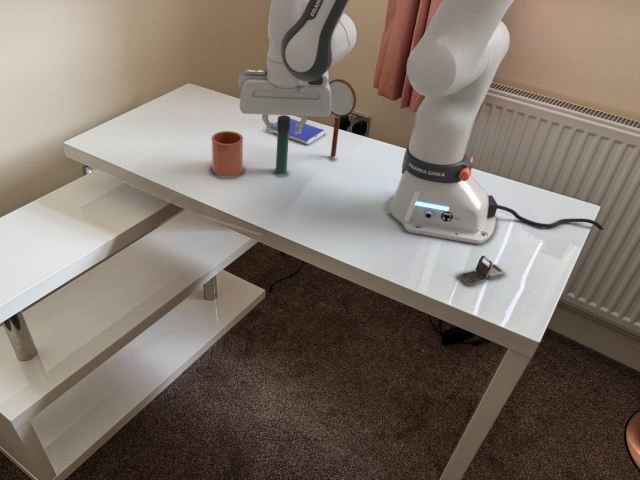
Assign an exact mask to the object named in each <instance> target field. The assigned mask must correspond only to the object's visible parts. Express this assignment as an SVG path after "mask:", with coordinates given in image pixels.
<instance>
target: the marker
mask: <svg viewBox="0 0 640 480" xmlns="http://www.w3.org/2000/svg"><path fill="white" fill-rule="evenodd" d="M290 119H291V117H290V115H278V117H277V122H278V124H277V131H278V133H277V134H276V135H277V137H276V139H277V140H276V154H275V155H276V157H275V173H276V174H278V175H285V174H287V170H288V155H289V141H290V140H289V139H290V138H289V131H290Z"/></svg>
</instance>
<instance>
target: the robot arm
mask: <svg viewBox="0 0 640 480" xmlns="http://www.w3.org/2000/svg"><path fill="white" fill-rule="evenodd" d="M350 1H351V0H271V1H270V6H269V11H268V21H267V22H268V24H267V38H268V41H269V42H268V43H269V45H268V49H267V53H266V69H245V70H244V71H242V72H241V73H240V74H239V75H238V78H237V79H238V82H237V83H238V87H239V89H240V90H241V91H240V97H239V98H240V99H239V111H240V112H241V113H242V114H244V115H261V119H262V121H263V123H264V125H265V126H266V131H265V132H266V133H267V134H269V133H272V134H274V133H273V124H274V122H270V120H269V115H270V116H283V115H284V116H294V117H295V116H297V117H300V121H299V124H295V134H301V131H302V127H303V126H304V124H307V122H308V118H309V117H319V118H320V117H322V118H323V117H324V118H327V117H329V115H330V114H332V113H331V90H330V85H329V83H330V81H329V78H330V74H329V70H330V69H332V68H333V67H335V66H337V64H339V63H340V62H341V61H343V60H344V59H346V58H347V57H348V56H349V55H351V54H352V53H353V51H354V49H355V48H356V46H357V42H358V30H357V26H356V24H355V21H354V19H353V18H352V17H351V16H350V15H349V14H348V13H346V12H345V11H346V9H347V7H348V5H349V3H350ZM514 1H515V0H440V3H439V4H438V7H437V8H436V10H435V12H434V14H433V16H432V17H431V19H430V22H429V24H428V25H427V28H426V30H425V32H424V34H423V36H422V37H421V38H420V40H419V41H418V43H417V44H416V45H415V46H414V47H413V49H412V50H411V52H410V54H409V56H408V58H407V60H406V61H407V62H406V69H405V70H406V76H407V80H408V82H409V85H411V87H412V89H413V90H414V91H415V92H417V93H418V94H420V95H421V96H424V98H423V100H422V101H421V103H420V105H419V106H418V108H417V109H416V112H415V117H414V121H413V125H412V129H411V135H410V140H409V144H408V146H407V148H405V151H404V154H403V160H402V165H401V176H400V179H399V182H398V184H397V188H396V190H395V191H394V194H393V196H392V198H391V199H390V201H389V204H388V210H389V212H390V214H391V215H392V216H393V218H395V219H396V220H397V221H398V222H399V223H401V224H402V226H403V228H404V230H405V231H406V232H408V233H411V234H417V235H423V236H427V237H428V236H429V237H433V238H434V237H435V238H441V239H447V240H451V241H457V242H464V243H469V244H475V245H480V244H483V243H485V242H486V241H488V240H489V239H490V238H491V236H492V235H493V233H494V231H495V227H496V222H497V221H496V220H497V219H496V213H497V211H498V210H501V211H505V212H508V213H510V214H512V215H513V216H514V217H515V218H516V219H517V220H519V221H521V222H523V223H526V224H527V225H530V226H534V227H539V228H555V227H557V226H559V225H561V224H564V223H586V224H591V225H593V226H595V227H596V228H597V229H598V230H601V231H603V230H604V227H603V226H602V225H601V224H600V223H599V222H598V221H596V220H594V219H589V218H562V219H559V220H557V221H555V222H552V223H542V222H538V221H537V222H536V221H533V220H530V219H528V218H525V217H523V216H521V215H520V214H519V213H518V212H516V210H514V209H513V208H510V207H507V206H503V205H500V204H498V202H497V201H496V199H495V197H494V196H493V195H491V194H488V192H487V190H486V189H485V188H484V187H483V186H482V185H481V184H480V183H479V182H478V181H477V180H476V178H475V177H473V176H472V168H473V161H474V157H473V156H471V158H470V159H469V157H468V156H467V155H466V150H467V147H468V144H469V140H470V137H471V133H472V130H473V126H474V123H475V120H476V118H477V116H478V113H479V111H480V109H481V106H482V105H483V103H484V100H485V98H486V96H487V93H488V92H489V90H490V88H491V84H492V83H493V81H494V78H495V76H496V73H497V71H498V69H499V67H500V65H501V63H502V61H503V60H504V58H505V57H506V55H507V53H508V51H509V48H510V44H511V43H510V42H511V38H510V37H511V36H510V32H509V30H508V27H507V25H506V24H505V23H504V22H503V21H502V19H503V18H504V16H505V15H506V13H507V11H508V9H510V7H511V5H512V4H513V3H514Z"/></svg>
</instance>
